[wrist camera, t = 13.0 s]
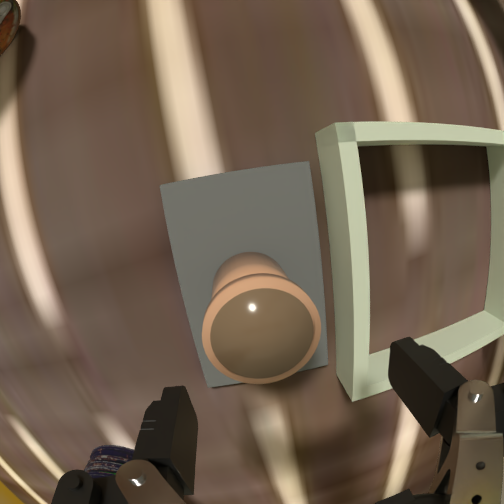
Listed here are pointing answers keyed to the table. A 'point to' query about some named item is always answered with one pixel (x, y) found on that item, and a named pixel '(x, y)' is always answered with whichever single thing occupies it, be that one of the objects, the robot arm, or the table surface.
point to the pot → (258, 321)
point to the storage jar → (107, 460)
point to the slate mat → (244, 238)
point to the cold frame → (356, 247)
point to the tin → (8, 22)
